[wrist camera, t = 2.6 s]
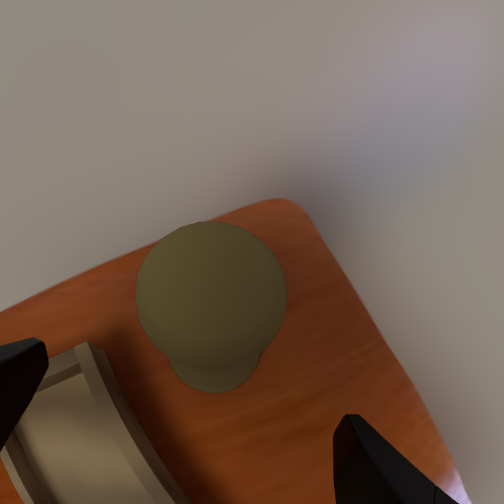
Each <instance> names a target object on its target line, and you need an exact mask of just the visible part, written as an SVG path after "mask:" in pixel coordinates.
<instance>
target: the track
mask: <svg viewBox="0 0 504 504" xmlns="http://www.w3.org/2000/svg"><path fill="white" fill-rule="evenodd" d="M48 360H49V367H48V370H47V372H46V374H45V376H44V377H43V379H42V381H41V383H40V385H39V387H38V389H37V391H36V393H35V395H34V397H33V399H32V401H31V402H30V404H29V406H28V408H27V409H26V411H25V412H24V414H23V415H22V417H21V419H20V420H19V422H18V423H17V425H16V427H15V428H14V430H13V432H12V433H11V435H10V437H9V438H8V440H7V442H6V444H5V445H4V447H3V449H2V451H1V452H0V457H1V459H2V461H3V463H4V466H5V468H6V470H7V472H8V474H9V476H10V478H11V480H12V482H13V484H14V486H15V488H16V490H17V492H18V493H19V495H20V497H21V499H22V500H23V502H24V504H193V503H192V502H191V501H190V500H189V498H188V497H187V496H186V494H185V493H184V492H183V490H182V489H181V488H180V486H179V485H178V484H177V482H176V481H175V479H174V478H173V477H172V475H171V474H170V472H169V471H168V469H167V468H166V466H165V465H164V463H163V462H162V460H161V459H160V457H159V456H158V454H157V452H156V451H155V449H154V448H153V446H152V444H151V443H150V441H149V439H148V438H147V436H146V434H145V433H144V431H143V429H142V427H141V426H140V424H139V422H138V420H137V418H136V417H135V415H134V413H133V411H132V409H131V407H130V405H129V403H128V401H127V399H126V397H125V395H124V393H123V391H122V389H121V387H120V385H119V383H118V381H117V379H116V377H115V374H114V372H113V370H112V368H111V366H110V363H109V361H108V359H107V356H106V354H105V351H103V350H101V349H100V348H98V347H96V346H95V345H93V344H91V343H90V342H88V341H85V342H83V343H81V344H79V345H77V346H75V347H73V348H71V349H69V350H67V351H64V352H62V353H60V354H58V355H56V356H54V357H52V358H50V359H48Z"/></svg>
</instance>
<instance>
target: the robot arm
mask: <svg viewBox="0 0 504 504" xmlns="http://www.w3.org/2000/svg"><path fill="white" fill-rule="evenodd" d="M48 367H49V360H48V355H47V351H46V346H45V343H44V342H43V341H41V340H39V339H37V338H34V337H32V338H28V339H24V340H20V341H17V342H13V343H9V344H5V345H1V346H0V452H1V451H2V449H3V447H4V445H5V444H6V442H7V440H8V438H9V437H10V435H11V433H12V432H13V430H14V428H15V427H16V425H17V423H18V422H19V420H20V419H21V417H22V415H23V414H24V412H25V411H26V409H27V408H28V406H29V404H30V402H31V401H32V399H33V397H34V395H35V393H36V391H37V389H38V387H39V385H40V383H41V381H42V379H43V377H44V376H45V374H46V372H47V370H48ZM333 477H334V489H335V497H336V504H459V503H457V502H456V501H455V500H453V499H452V498H451V497H450V496H448V495H447V494H446V493H445V492H443V491H442V490H441V489H440V488H439V487H438V486H435V484H434V483H433V482H432V481H431V480H429V479H428V478H427V477H426V476H425V475H424V474H423V473H422V472H420V471H419V470H418V469H417V468H416V467H415V466H414V465H413V464H412V463H410V462H409V461H408V460H407V459H406V458H405V457H404V456H403V455H402V454H401V453H399V452H398V451H397V450H396V449H395V448H394V447H393V446H392V445H391V444H390V443H389V442H388V441H386V440H385V439H384V438H383V437H382V436H381V435H380V434H379V433H378V432H377V431H376V430H375V429H374V428H373V427H372V426H371V425H370V424H369V423H367V422H366V421H365V420H364V419H363V418H362V417H361V416H360V415H358V414H346V415H345V416H344V417H343V418H342V420H341V421H340V423H339V425H338V427H337V428H336V430H335V432H334V435H333Z"/></svg>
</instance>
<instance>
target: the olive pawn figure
mask: <svg viewBox="0 0 504 504" xmlns="http://www.w3.org/2000/svg"><path fill="white" fill-rule="evenodd" d="M135 302H136V308H137V312H138V315H139V319H140V323H141V326H142V328H143V329H144V331H145V332H146V334H147V335H148V337H149V338H150V340H151V341H152V342H153V344H154V345H155V347H157V348H158V349H159V350H160V351H161V352H163V353H164V354H165V355H167V356H168V359H169V361H170V364H171V367H172V369H173V371H174V372H175V373H176V374H177V376H178V377H179V378H180V380H181V381H183V382H184V383H186V384H187V385H189V386H190V387H192V388H193V389H196V390H199V391H203V392H206V393H223V392H226V391H229V390H232V389H235V388H237V387H239V386H240V385H241V384H242V383H244V382H245V381H246V380H247V379H249V377H250V376H251V374H252V373H253V371H254V370H255V368H256V366H257V363H258V359H259V355H260V352H262V351H263V350H264V349H265V348H266V347H267V346H268V345H269V344H270V343H271V342H272V340H273V338H274V337H275V335H276V333H277V332H278V330H279V328H280V327H281V325H282V323H283V319H284V314H285V309H286V304H287V292H286V285H285V278H284V273H283V271H282V269H281V267H280V265H279V263H278V261H277V259H276V257H275V255H274V254H273V252H272V251H271V250H270V249H269V248H268V247H267V246H266V245H265V244H264V243H263V242H262V241H261V240H260V239H259V238H258V237H256V236H254V235H253V234H251V233H249V232H247V231H246V230H244V229H242V228H240V227H238V226H235V225H231V224H227V223H223V222H197V223H194V224H190V225H187V226H183V227H180V228H178V229H177V230H175V231H173V232H172V233H170V234H168V235H167V236H165V237H163V238H162V239H161V240H160V241H159V242H158V243H157V244H156V245H155V246H154V248H153V249H152V250H151V251H150V252H149V253H148V254H147V255H146V257H145V259H144V262H143V264H142V266H141V268H140V271H139V273H138V275H137V283H136V295H135Z"/></svg>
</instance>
